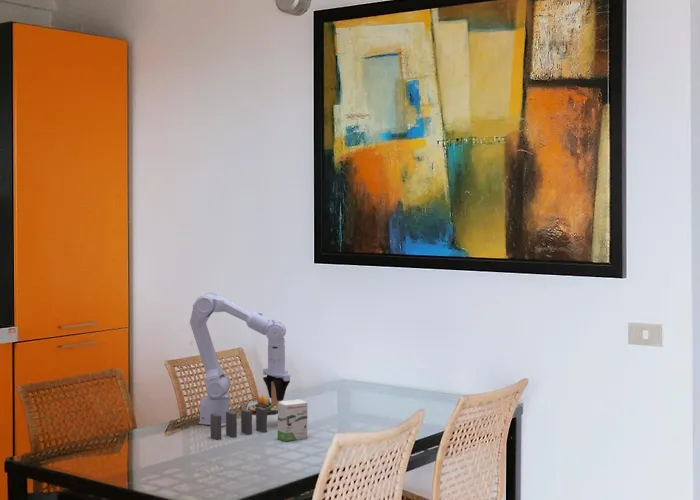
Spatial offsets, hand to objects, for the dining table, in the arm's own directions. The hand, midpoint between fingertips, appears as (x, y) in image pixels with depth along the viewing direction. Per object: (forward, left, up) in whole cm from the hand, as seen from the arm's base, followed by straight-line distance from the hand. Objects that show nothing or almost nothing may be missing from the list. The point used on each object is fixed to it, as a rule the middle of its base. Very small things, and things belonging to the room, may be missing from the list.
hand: (276, 399), depth 316 cm
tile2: (0, -9, -9) cm, 13 cm away
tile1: (0, 0, -2) cm, 2 cm away
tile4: (-6, -19, -9) cm, 21 cm away
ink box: (+13, -13, -9) cm, 21 cm away
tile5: (-9, -23, -9) cm, 27 cm away
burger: (-14, +15, -9) cm, 22 cm away
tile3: (-3, -14, -9) cm, 17 cm away
